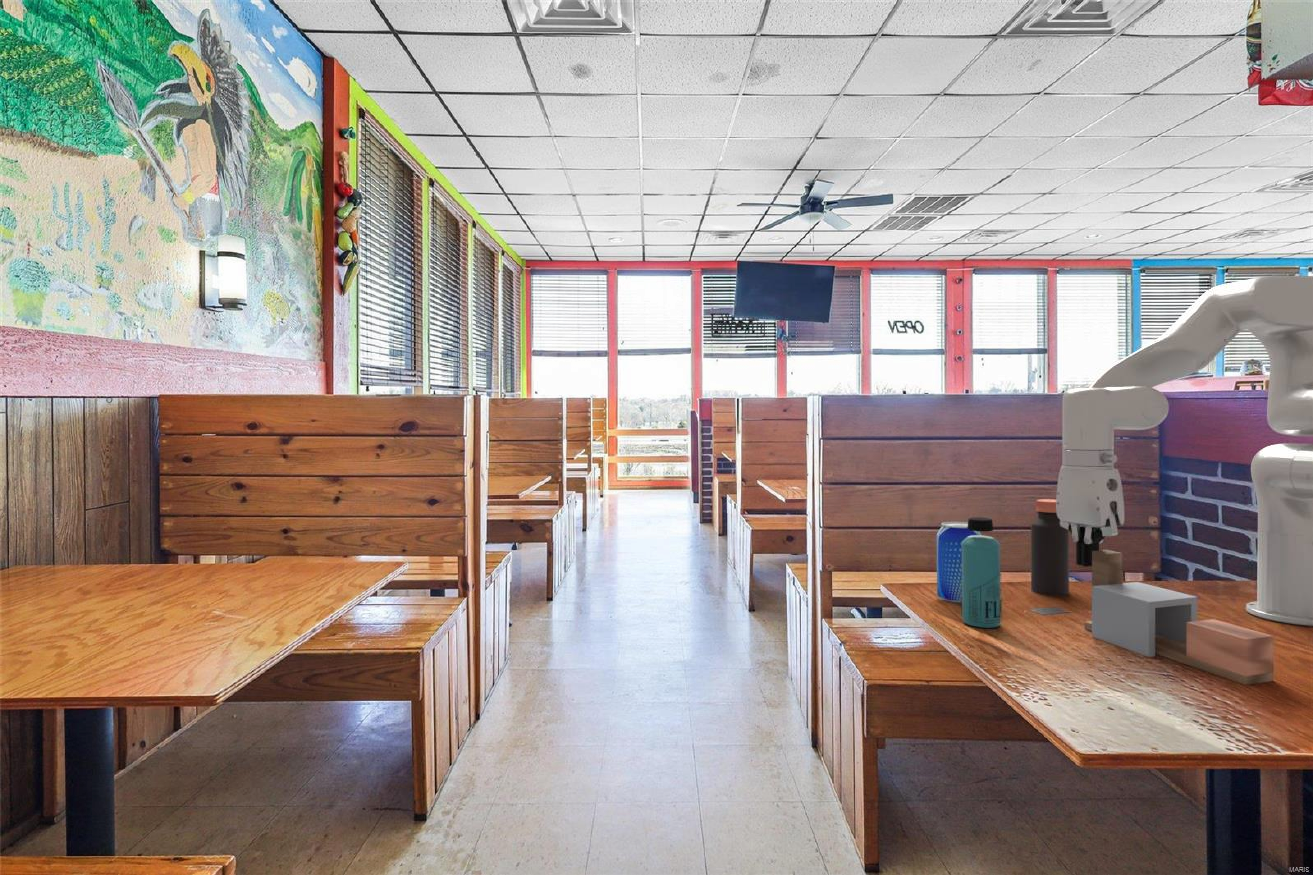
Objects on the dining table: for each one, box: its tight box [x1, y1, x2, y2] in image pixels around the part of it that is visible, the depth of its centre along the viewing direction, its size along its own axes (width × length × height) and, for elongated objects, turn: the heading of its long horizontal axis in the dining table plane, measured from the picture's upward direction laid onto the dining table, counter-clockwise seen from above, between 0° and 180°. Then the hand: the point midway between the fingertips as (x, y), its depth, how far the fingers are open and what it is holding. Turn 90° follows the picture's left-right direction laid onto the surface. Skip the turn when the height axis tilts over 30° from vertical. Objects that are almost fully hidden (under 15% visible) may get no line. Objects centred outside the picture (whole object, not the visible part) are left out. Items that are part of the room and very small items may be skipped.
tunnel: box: [1091, 581, 1199, 658], centre depth 109 cm, size 9×10×8 cm
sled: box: [1084, 549, 1275, 686], centre depth 105 cm, size 5×26×13 cm, turn 14°
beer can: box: [936, 521, 983, 604], centre depth 138 cm, size 8×8×16 cm
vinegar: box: [1030, 498, 1070, 597], centre depth 141 cm, size 7×7×20 cm
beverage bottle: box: [960, 516, 1003, 629], centre depth 120 cm, size 6×7×20 cm
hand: (1087, 565), depth 119 cm, fingers closed
